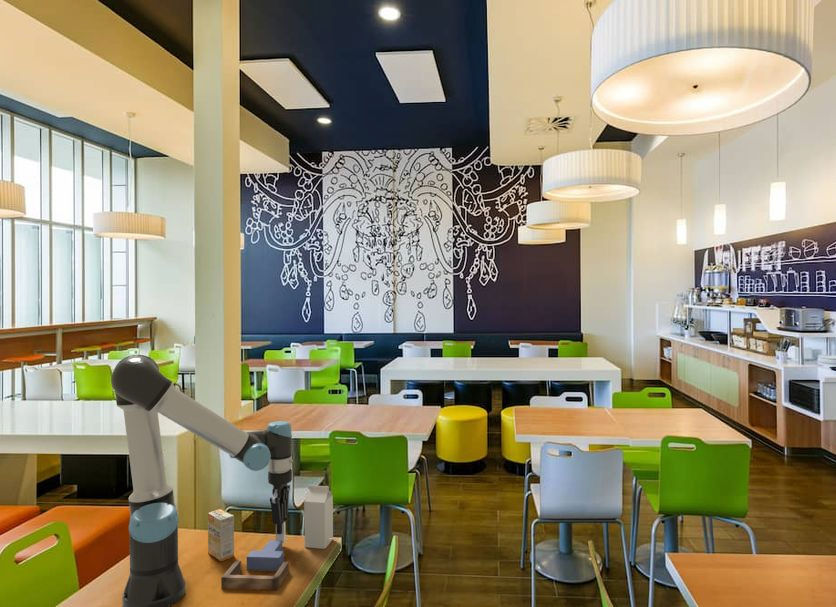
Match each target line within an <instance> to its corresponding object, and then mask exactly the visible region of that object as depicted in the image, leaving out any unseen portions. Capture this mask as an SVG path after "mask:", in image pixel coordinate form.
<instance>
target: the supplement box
mask: <svg viewBox="0 0 836 607" xmlns="http://www.w3.org/2000/svg"><path fill="white" fill-rule="evenodd" d="M234 539H235V516H234V514H231V513H230V512H228V511H226V510H223V509H222V508H219V509H216V510H213V511H210V512H208V513H207V553H208V554H209V555H211V556H212V557H214V558H215V559H217V560H218V561H219V562H223V561H225V560H226V561H227V560H228V559H231V558H233V557H234V556H235V540H234ZM230 557H231V558H230Z"/></svg>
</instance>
